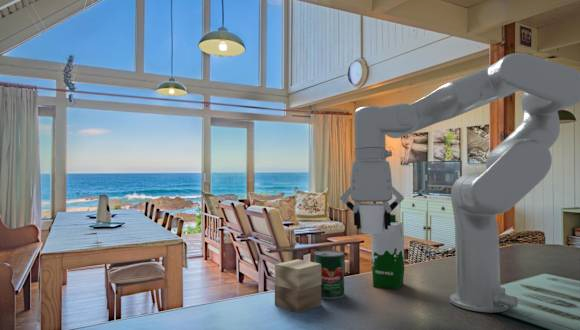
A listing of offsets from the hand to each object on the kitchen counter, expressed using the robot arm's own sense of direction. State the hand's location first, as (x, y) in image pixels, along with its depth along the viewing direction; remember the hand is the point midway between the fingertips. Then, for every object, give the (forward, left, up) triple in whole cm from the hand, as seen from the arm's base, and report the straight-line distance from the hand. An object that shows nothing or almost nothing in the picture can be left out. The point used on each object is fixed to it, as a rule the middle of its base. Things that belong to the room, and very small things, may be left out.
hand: (372, 228), depth 93 cm
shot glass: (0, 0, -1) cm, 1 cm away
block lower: (+9, +16, -18) cm, 26 cm away
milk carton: (+9, -15, -18) cm, 26 cm away
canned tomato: (+11, +5, -18) cm, 22 cm away
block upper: (+9, +16, -13) cm, 23 cm away
